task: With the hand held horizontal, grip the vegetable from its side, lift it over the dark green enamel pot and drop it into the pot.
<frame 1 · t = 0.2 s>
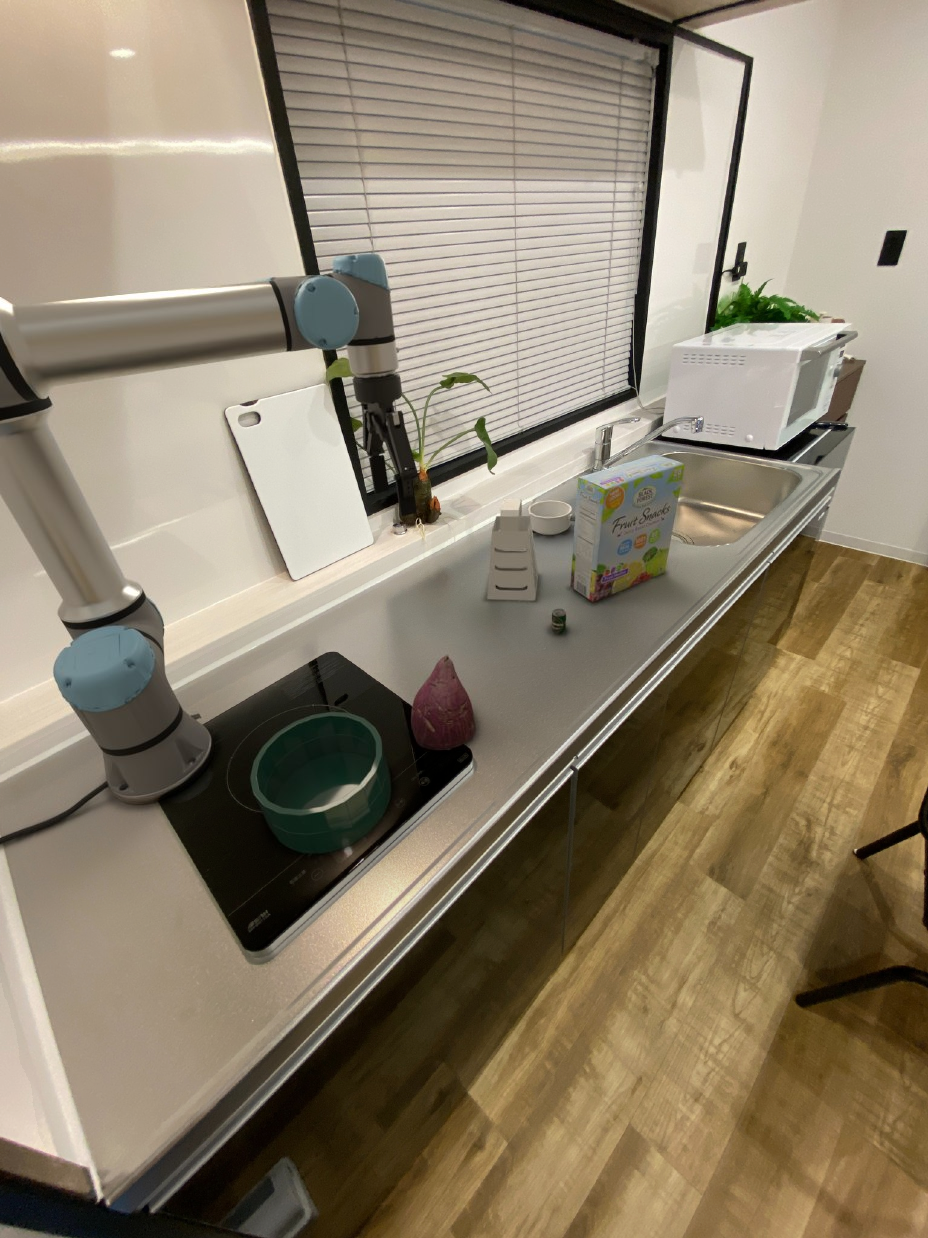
hand: (394, 502, 95), 28 cm above the counter, tool pointing down, fingers open, 13 cm apart
vegetable: (443, 728, 87), on the counter
grater: (513, 588, 121), on the counter
beer can: (558, 631, 106), on the counter
snack box: (619, 581, 120), on the counter
pot: (331, 797, 77), on the counter
saucepan: (563, 531, 142), on the counter
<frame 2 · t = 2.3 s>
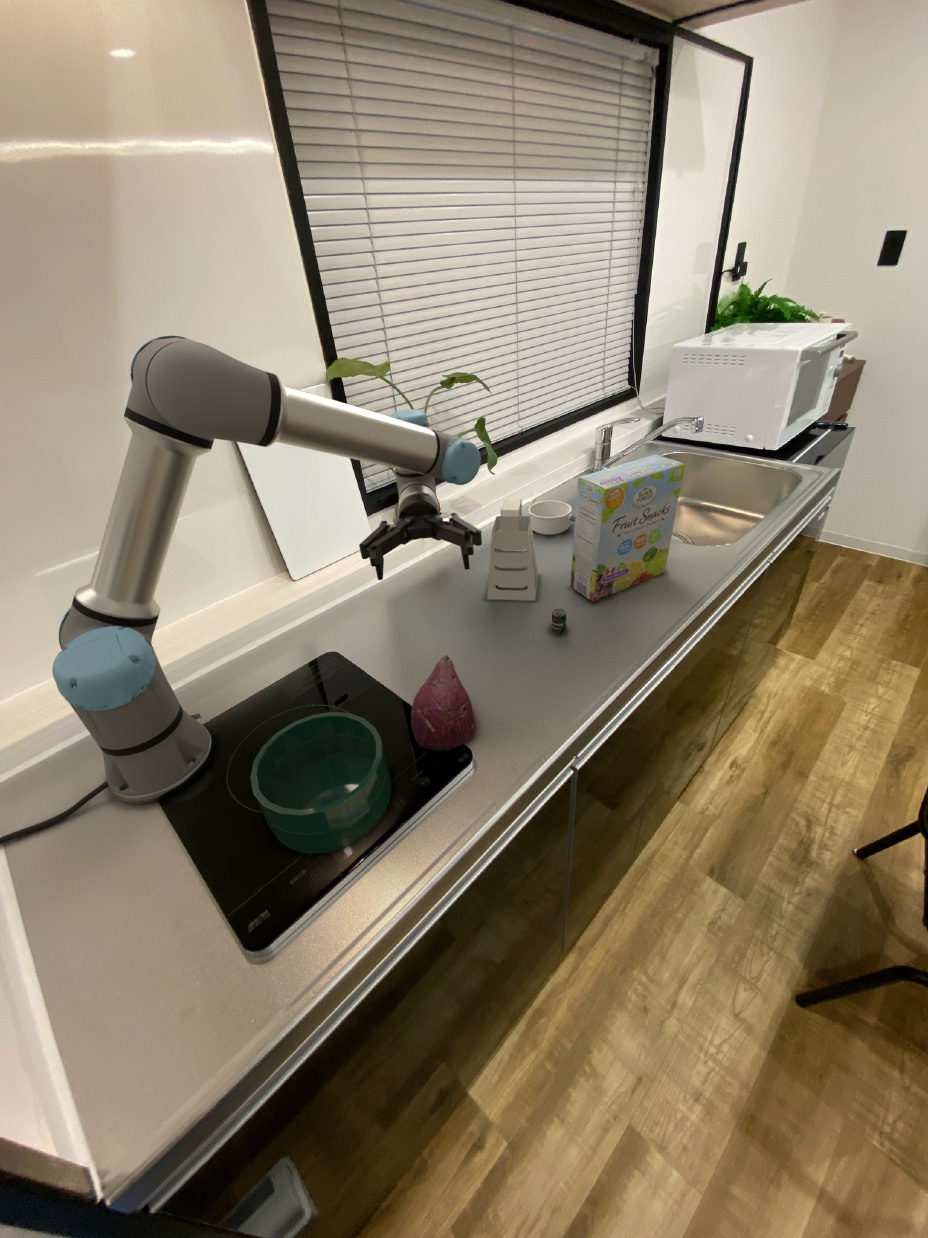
hand: (422, 567, 82), 24 cm above the counter, tool horizontal, fingers open, 13 cm apart
nothing on the counter moved.
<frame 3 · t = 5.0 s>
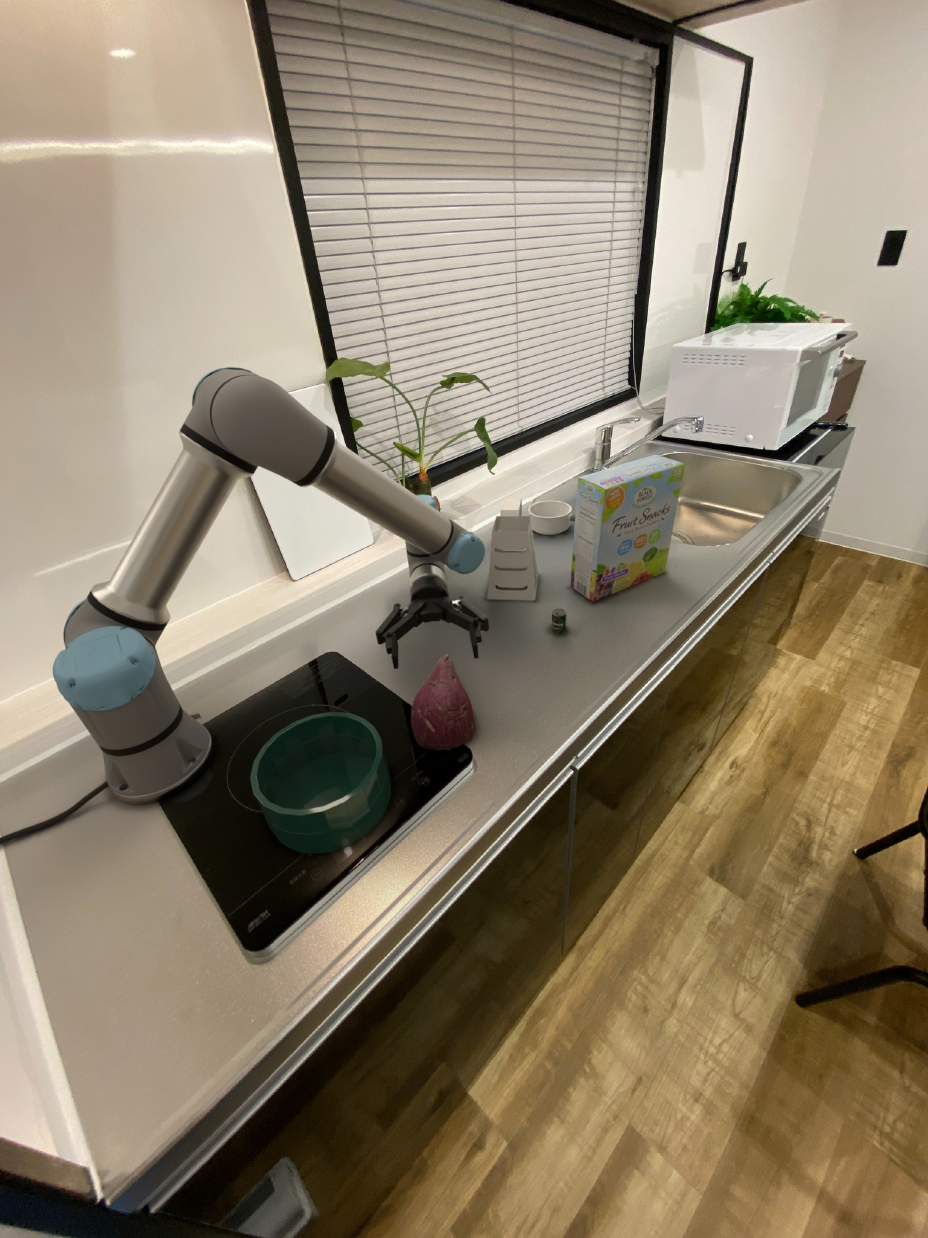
hand: (435, 657, 89), 8 cm above the counter, tool horizontal, fingers open, 13 cm apart
nothing on the counter moved.
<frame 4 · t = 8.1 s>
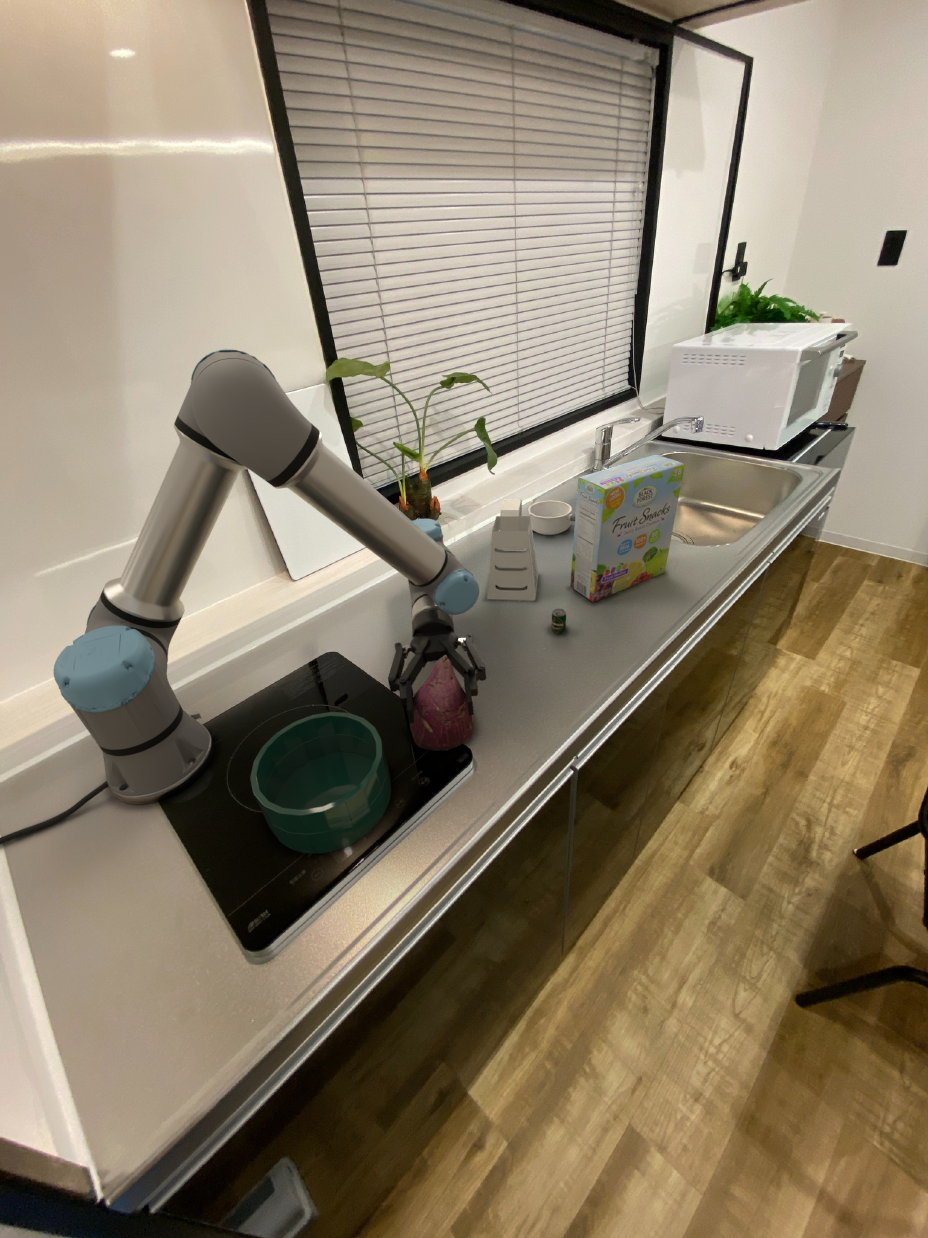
hand: (440, 712, 79), 8 cm above the counter, tool horizontal, fingers closed on vegetable, 8 cm apart
vegetable: (442, 728, 87), on the counter, touching gripper
everything else where it was.
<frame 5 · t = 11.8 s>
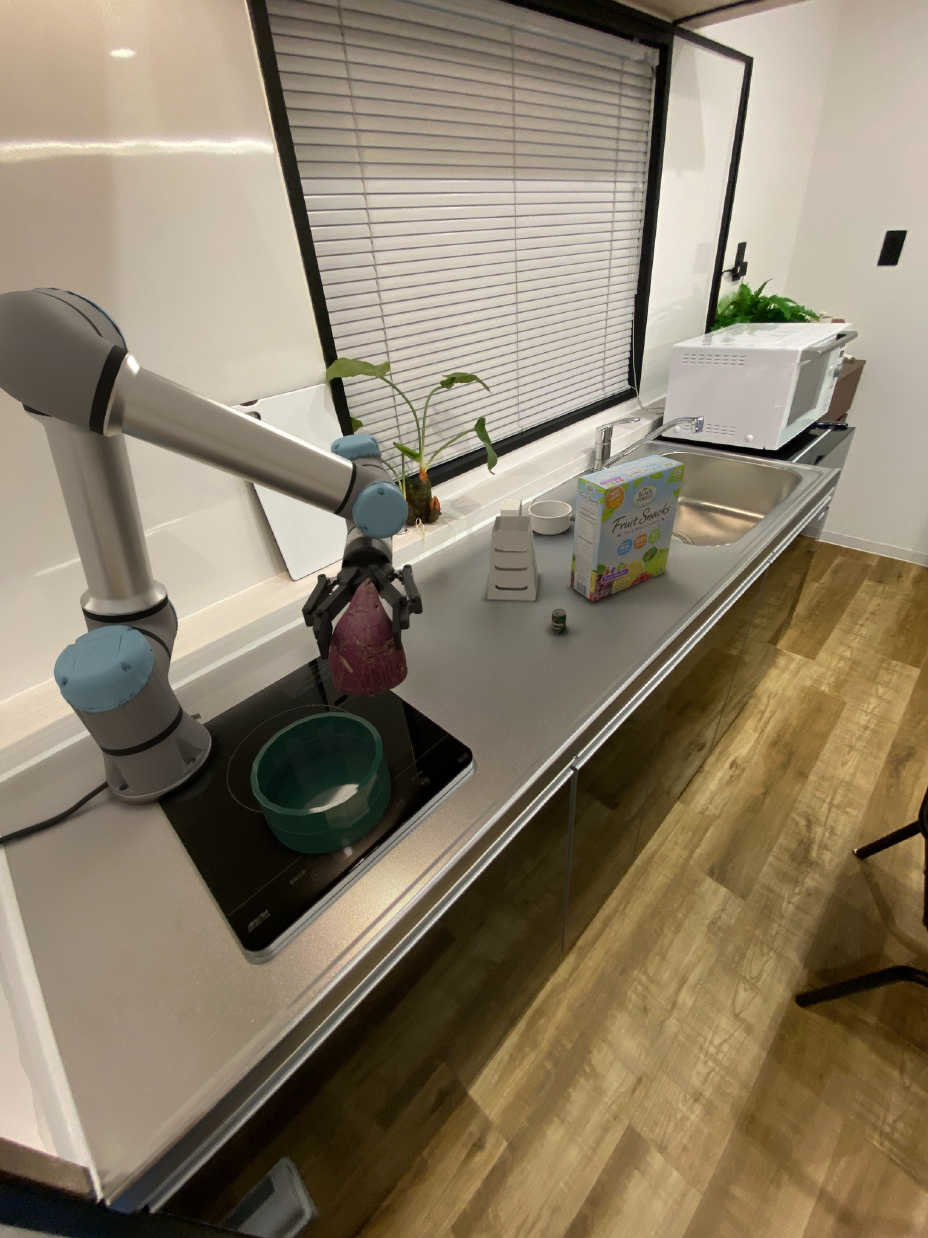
hand: (359, 646, 64), 26 cm above the counter, tool horizontal, fingers closed on vegetable, 8 cm apart
vegetable: (370, 673, 72), point 18 cm above the counter, touching gripper
everything else where it was.
when the fingers open (19 cm above the counter, at t = 15.5 s): vegetable drops 10 cm, resting on pot.
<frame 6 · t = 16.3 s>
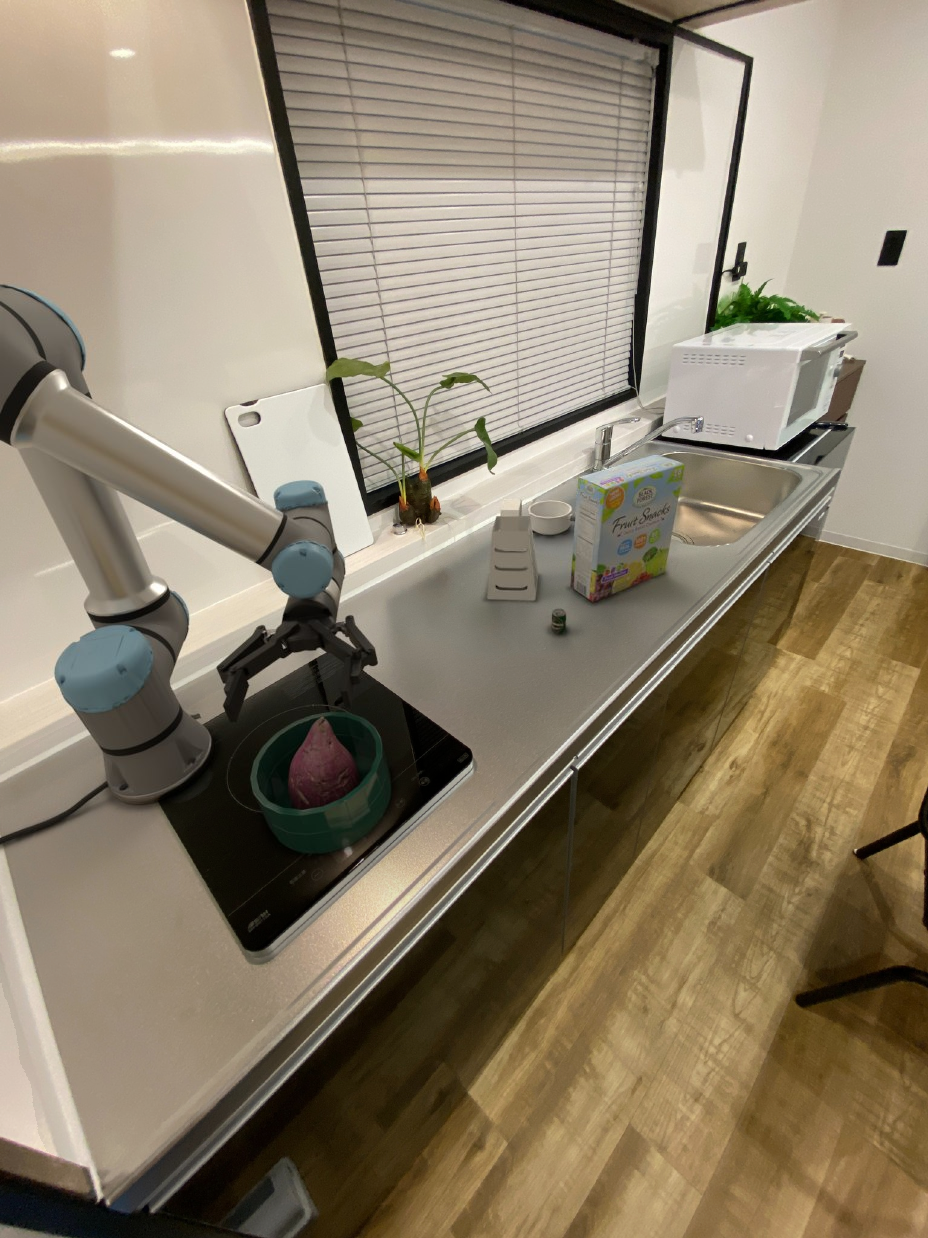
hand: (288, 707, 63), 21 cm above the counter, tool horizontal, fingers open, 13 cm apart
vegetable: (328, 795, 77), resting on pot
everything else where it was.
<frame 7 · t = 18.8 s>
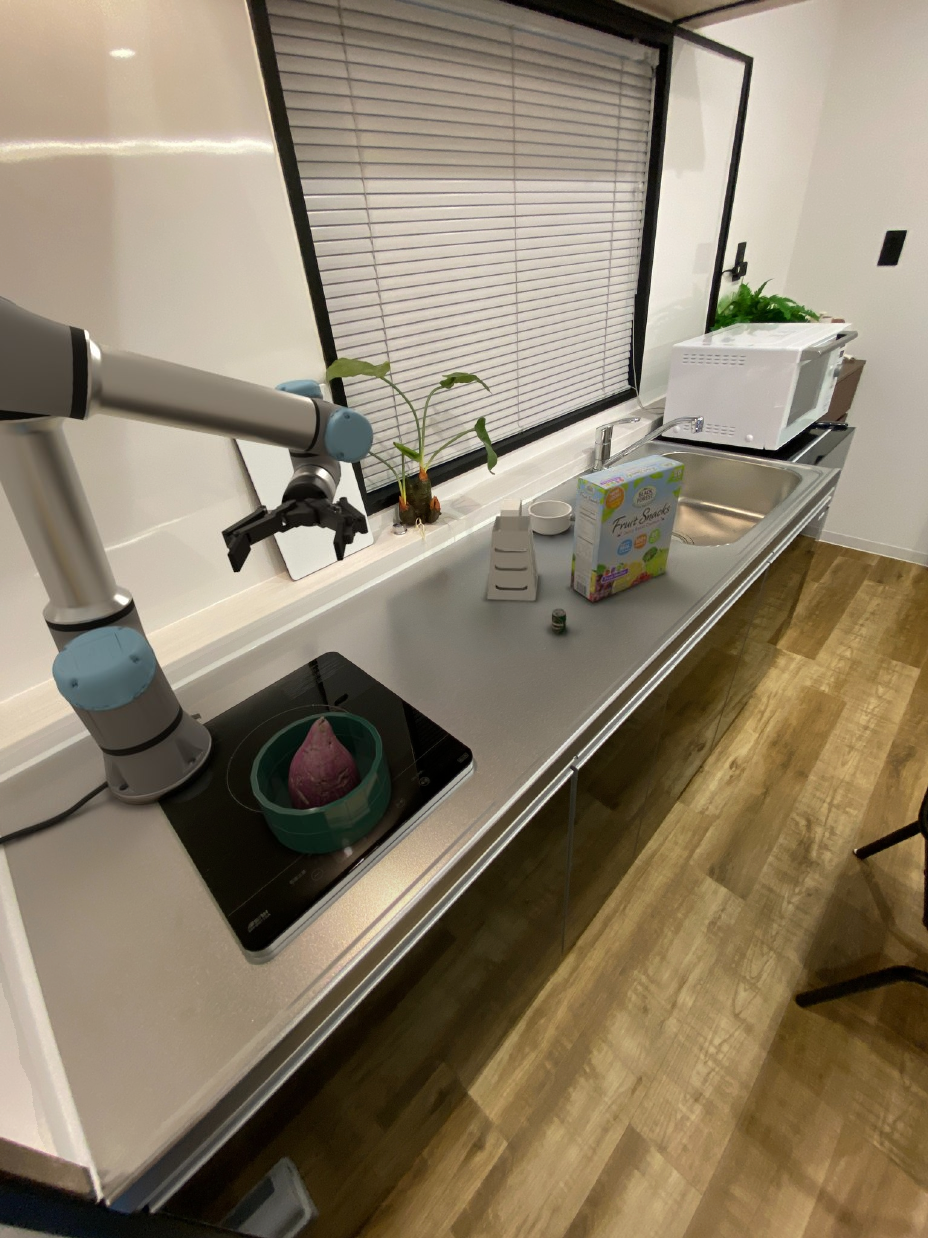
hand: (285, 557, 69), 33 cm above the counter, tool horizontal, fingers open, 13 cm apart
nothing on the counter moved.
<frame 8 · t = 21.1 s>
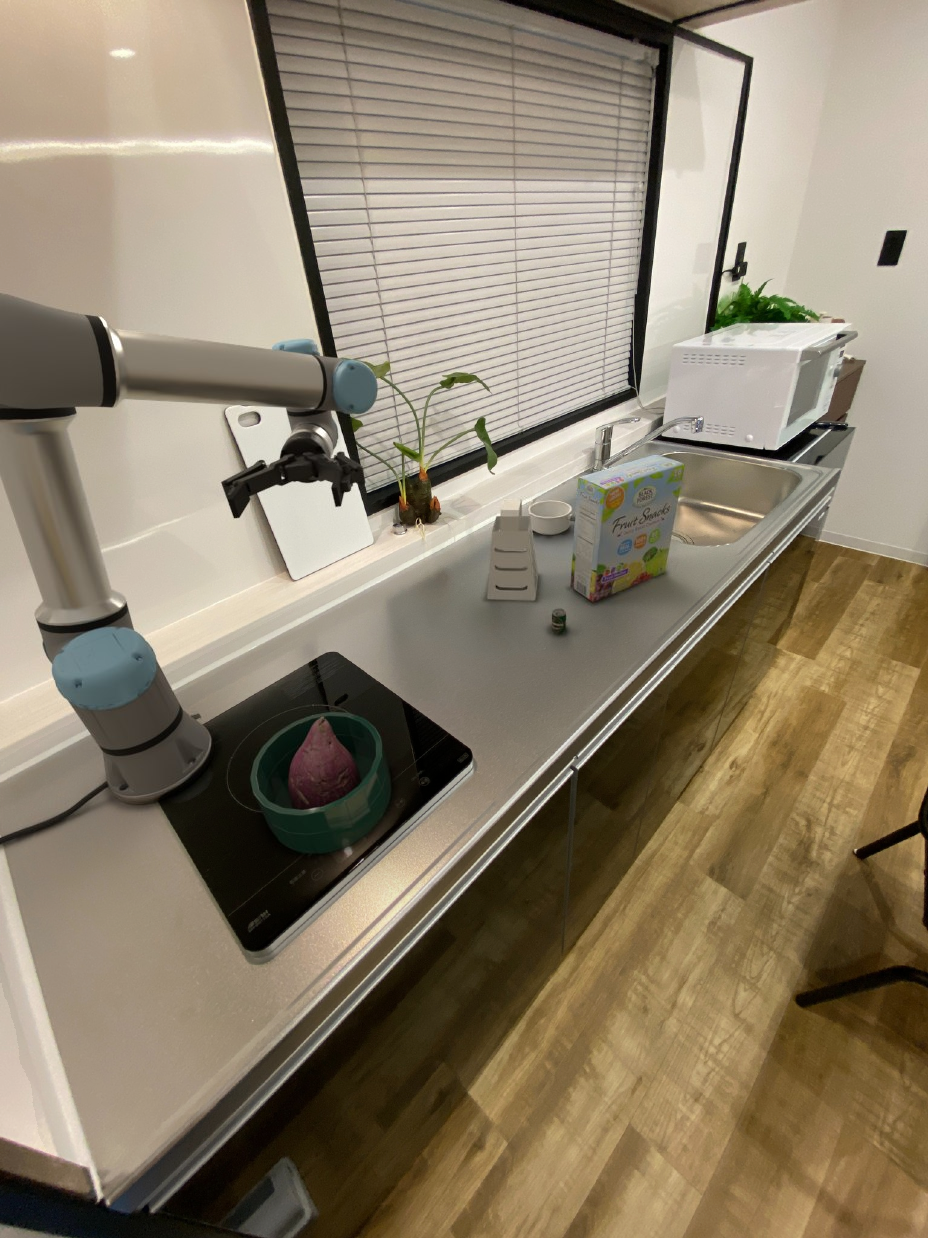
hand: (284, 503, 71), 38 cm above the counter, tool horizontal, fingers open, 13 cm apart
nothing on the counter moved.
at the end: vegetable inside the target area in the pot (0.4 cm from its centre), point 0.3 cm above the pot's base; the gripper is holding nothing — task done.
